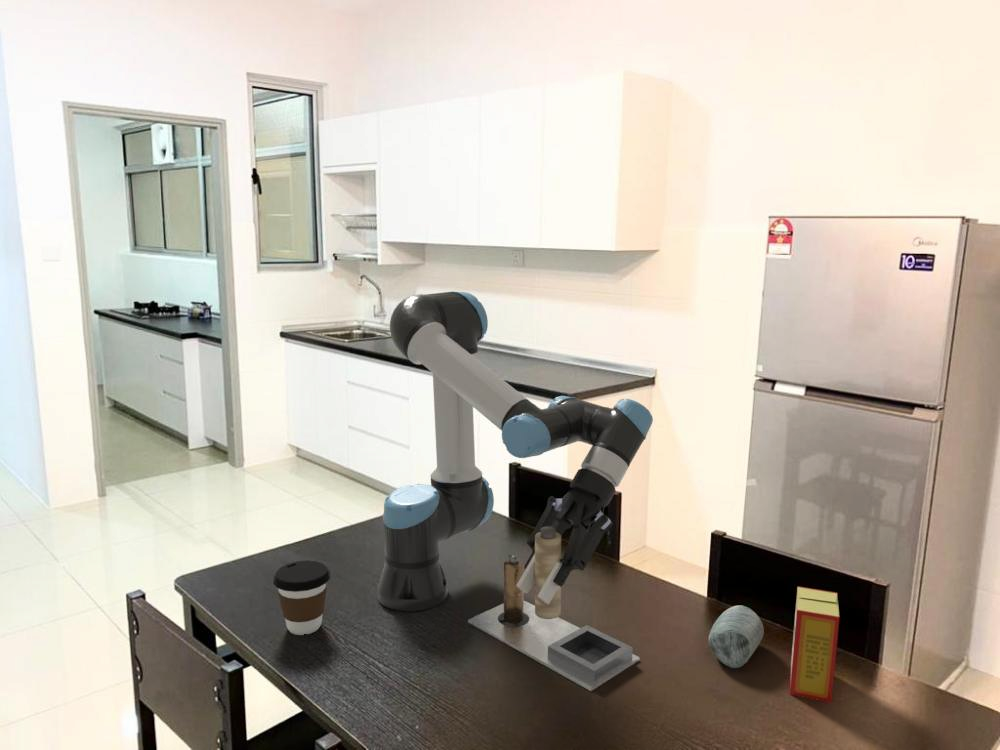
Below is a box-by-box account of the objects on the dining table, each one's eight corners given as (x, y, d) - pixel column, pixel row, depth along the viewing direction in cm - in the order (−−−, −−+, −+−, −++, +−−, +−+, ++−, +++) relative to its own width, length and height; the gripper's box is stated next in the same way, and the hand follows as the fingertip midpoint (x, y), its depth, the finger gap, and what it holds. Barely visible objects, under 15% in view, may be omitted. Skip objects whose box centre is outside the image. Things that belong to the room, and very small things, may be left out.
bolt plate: (468, 622, 154) (467, 556, 151) (517, 599, 163) (517, 537, 161) (590, 691, 131) (593, 615, 129) (639, 660, 141) (642, 589, 138)
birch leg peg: (529, 612, 131) (529, 529, 128) (547, 603, 134) (547, 522, 131) (548, 621, 128) (548, 537, 125) (566, 612, 131) (566, 529, 128)
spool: (756, 667, 133) (738, 608, 136) (706, 674, 138) (690, 618, 141) (781, 652, 144) (765, 598, 146) (735, 659, 149) (719, 607, 152)
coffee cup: (265, 627, 152) (262, 571, 149) (312, 608, 159) (309, 554, 157) (295, 648, 144) (292, 589, 142) (343, 626, 152) (341, 570, 150)
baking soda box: (831, 703, 128) (839, 615, 125) (789, 694, 131) (797, 608, 128) (829, 673, 137) (837, 590, 134) (790, 665, 139) (797, 584, 136)
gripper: (646, 501, 131) (581, 623, 123) (571, 477, 144) (508, 586, 136) (628, 479, 126) (559, 604, 119) (552, 456, 139) (485, 568, 131)
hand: (532, 594), depth 127 cm, fingers closed on birch leg peg, 4 cm apart
